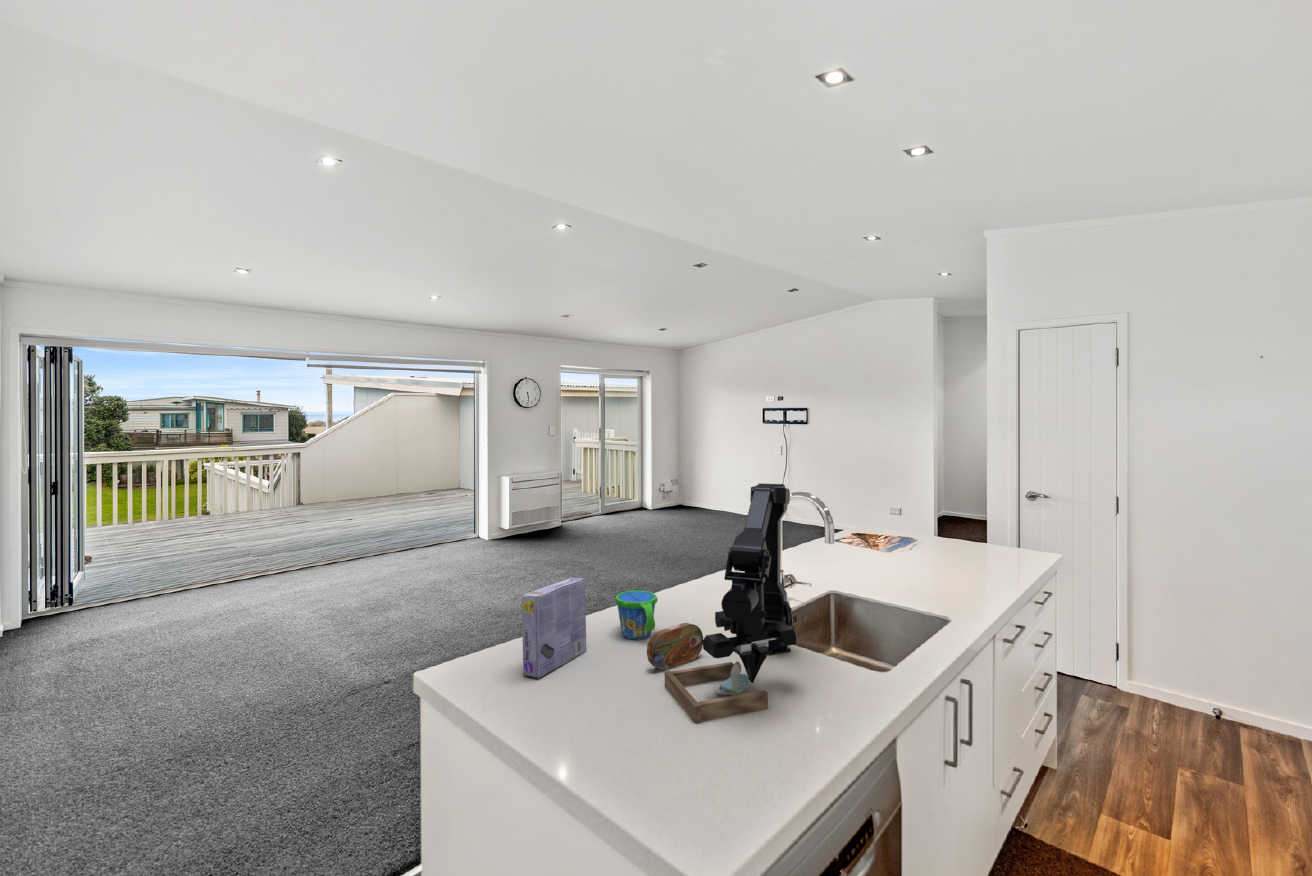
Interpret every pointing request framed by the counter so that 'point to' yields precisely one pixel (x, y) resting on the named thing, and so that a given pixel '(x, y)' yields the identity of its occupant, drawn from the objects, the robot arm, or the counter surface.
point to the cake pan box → (553, 626)
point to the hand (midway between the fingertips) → (751, 681)
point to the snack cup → (636, 613)
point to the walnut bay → (715, 706)
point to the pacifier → (733, 682)
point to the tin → (674, 646)
